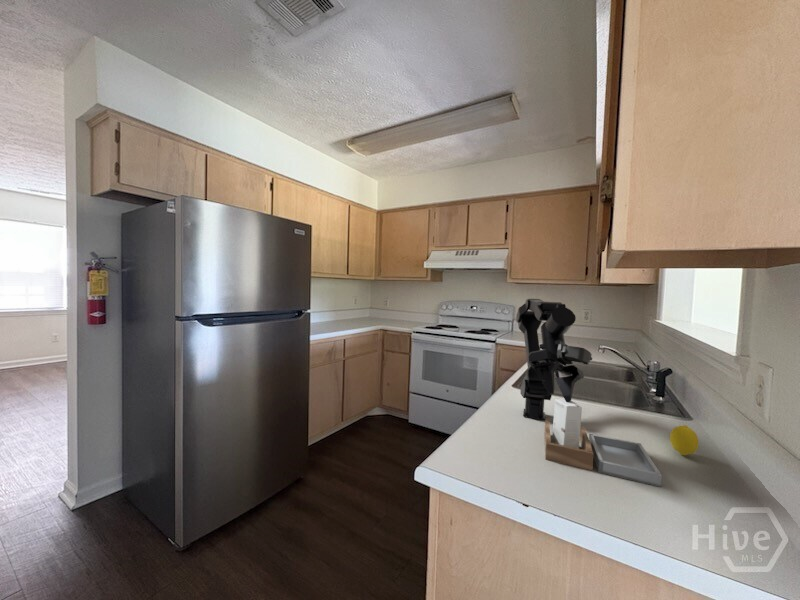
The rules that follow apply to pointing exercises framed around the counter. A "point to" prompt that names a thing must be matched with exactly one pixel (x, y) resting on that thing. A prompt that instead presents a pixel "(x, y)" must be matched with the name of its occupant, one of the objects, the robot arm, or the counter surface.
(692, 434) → the lemon
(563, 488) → the counter surface
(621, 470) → the tray
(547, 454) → the bay
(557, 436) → the skincare box
